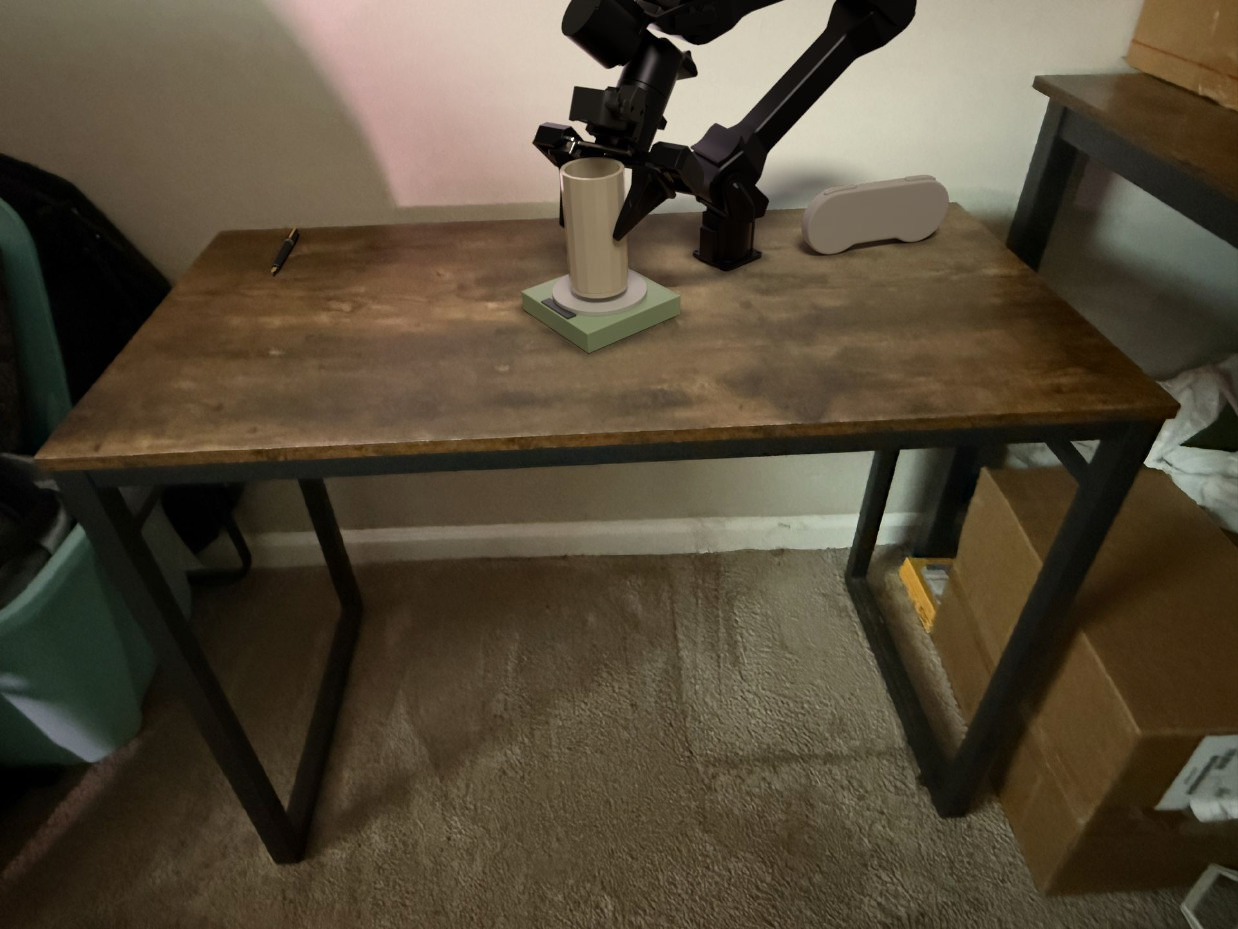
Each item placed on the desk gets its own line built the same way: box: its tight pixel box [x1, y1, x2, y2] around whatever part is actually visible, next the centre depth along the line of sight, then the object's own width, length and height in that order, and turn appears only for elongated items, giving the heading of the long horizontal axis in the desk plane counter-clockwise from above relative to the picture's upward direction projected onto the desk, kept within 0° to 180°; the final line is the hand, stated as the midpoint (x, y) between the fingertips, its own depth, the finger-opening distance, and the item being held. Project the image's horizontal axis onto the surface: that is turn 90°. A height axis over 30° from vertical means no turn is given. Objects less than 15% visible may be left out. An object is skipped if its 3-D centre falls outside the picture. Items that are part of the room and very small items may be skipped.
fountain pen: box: [270, 226, 299, 274], centre depth 108 cm, size 14×1×2 cm, turn 5°
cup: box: [559, 157, 629, 298], centre depth 86 cm, size 6×6×13 cm
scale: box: [520, 267, 681, 354], centre depth 92 cm, size 13×13×3 cm
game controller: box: [800, 174, 950, 255], centre depth 102 cm, size 20×2×8 cm, turn 105°
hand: (588, 233), depth 85 cm, fingers closed on cup, 6 cm apart
